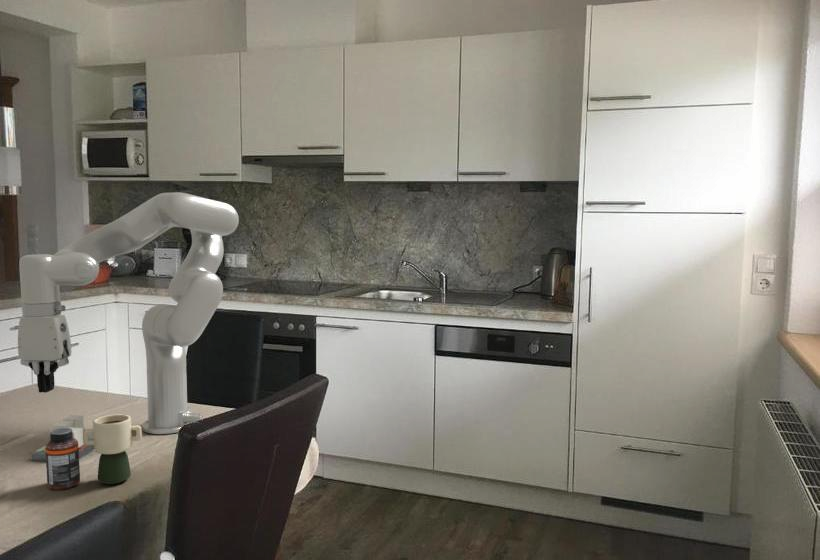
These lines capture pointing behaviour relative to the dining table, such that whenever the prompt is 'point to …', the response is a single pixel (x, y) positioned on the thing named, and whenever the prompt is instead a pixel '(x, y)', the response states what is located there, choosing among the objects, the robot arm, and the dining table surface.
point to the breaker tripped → (78, 435)
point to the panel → (83, 450)
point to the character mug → (112, 446)
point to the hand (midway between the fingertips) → (46, 390)
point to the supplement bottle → (62, 460)
